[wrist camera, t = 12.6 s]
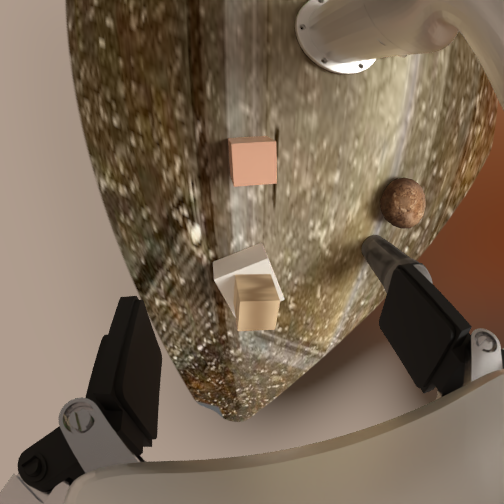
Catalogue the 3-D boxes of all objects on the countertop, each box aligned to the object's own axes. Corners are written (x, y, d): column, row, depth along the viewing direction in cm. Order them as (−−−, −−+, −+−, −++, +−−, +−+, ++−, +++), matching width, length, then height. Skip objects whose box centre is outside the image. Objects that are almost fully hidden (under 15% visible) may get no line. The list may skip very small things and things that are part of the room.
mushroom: (429, 218, 42) (435, 221, 36) (388, 231, 46) (389, 236, 40) (414, 173, 42) (419, 170, 36) (373, 187, 45) (372, 186, 40)
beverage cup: (349, 264, 48) (409, 346, 30) (360, 225, 44) (435, 300, 27) (382, 265, 49) (444, 338, 32) (394, 229, 46) (468, 296, 28)
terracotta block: (266, 135, 36) (276, 141, 30) (266, 171, 38) (276, 183, 33) (227, 138, 35) (231, 143, 30) (230, 174, 38) (234, 186, 32)
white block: (261, 241, 43) (267, 258, 39) (277, 280, 47) (284, 299, 43) (212, 261, 44) (213, 279, 40) (232, 298, 48) (235, 318, 44)
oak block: (270, 273, 40) (280, 300, 35) (266, 301, 43) (274, 329, 38) (235, 274, 40) (239, 301, 34) (233, 302, 42) (237, 331, 37)
